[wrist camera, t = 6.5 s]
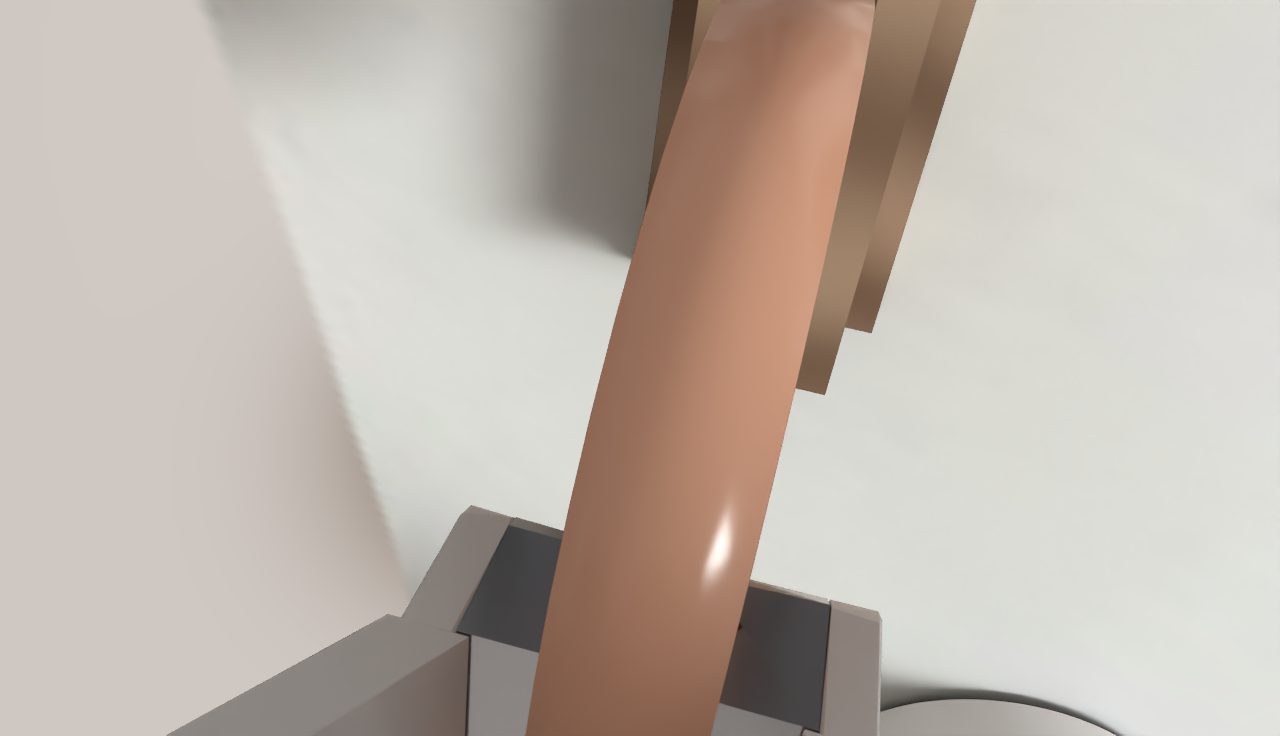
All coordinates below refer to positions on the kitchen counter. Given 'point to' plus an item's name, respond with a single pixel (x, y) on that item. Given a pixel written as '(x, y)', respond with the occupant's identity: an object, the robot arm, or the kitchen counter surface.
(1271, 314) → the kitchen counter surface
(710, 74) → the terracotta plate
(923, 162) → the walnut plate stand
